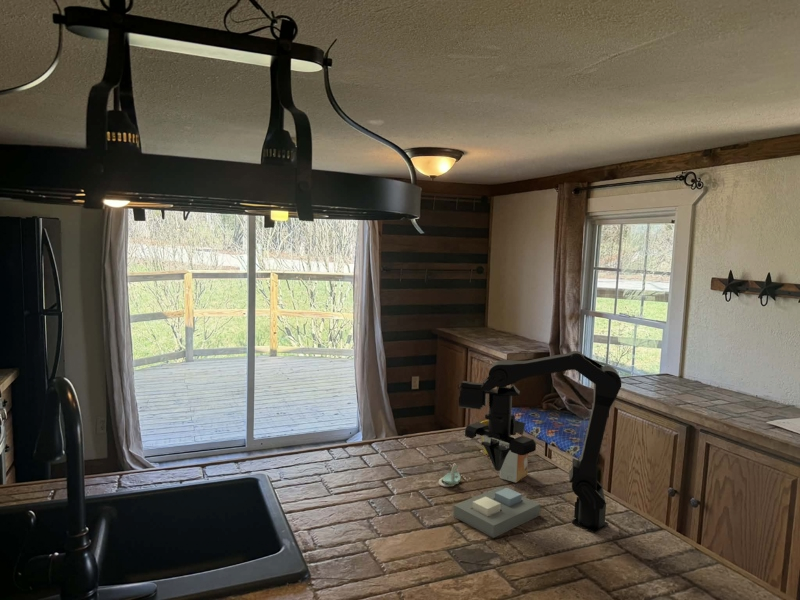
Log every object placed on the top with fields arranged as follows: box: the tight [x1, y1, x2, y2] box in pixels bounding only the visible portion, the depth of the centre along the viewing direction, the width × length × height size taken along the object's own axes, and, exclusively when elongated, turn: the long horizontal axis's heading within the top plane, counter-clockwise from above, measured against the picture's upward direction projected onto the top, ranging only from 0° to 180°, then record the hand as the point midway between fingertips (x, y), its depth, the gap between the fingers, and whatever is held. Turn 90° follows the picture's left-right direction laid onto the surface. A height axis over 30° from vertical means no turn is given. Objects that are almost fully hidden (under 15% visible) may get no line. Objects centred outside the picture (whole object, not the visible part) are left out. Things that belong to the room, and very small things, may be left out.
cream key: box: [473, 497, 500, 517], centre depth 136 cm, size 5×5×3 cm
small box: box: [498, 450, 529, 483], centre depth 164 cm, size 8×6×10 cm
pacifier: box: [438, 462, 461, 488], centre depth 158 cm, size 7×6×6 cm
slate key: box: [495, 487, 523, 507], centre depth 142 cm, size 5×5×3 cm
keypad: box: [453, 486, 541, 539], centre depth 139 cm, size 13×18×3 cm
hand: (498, 470), depth 141 cm, fingers closed
